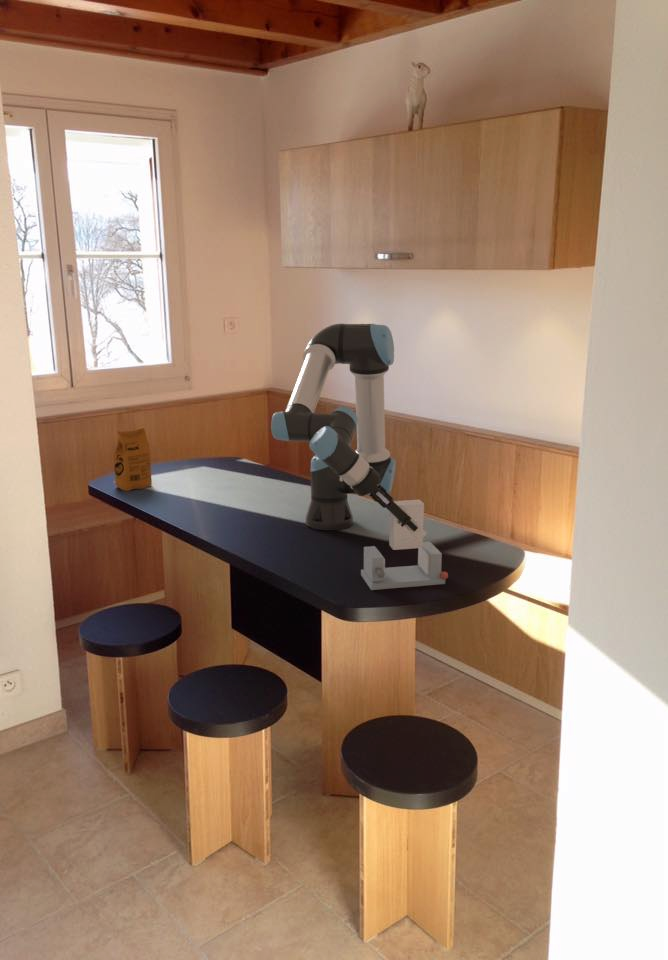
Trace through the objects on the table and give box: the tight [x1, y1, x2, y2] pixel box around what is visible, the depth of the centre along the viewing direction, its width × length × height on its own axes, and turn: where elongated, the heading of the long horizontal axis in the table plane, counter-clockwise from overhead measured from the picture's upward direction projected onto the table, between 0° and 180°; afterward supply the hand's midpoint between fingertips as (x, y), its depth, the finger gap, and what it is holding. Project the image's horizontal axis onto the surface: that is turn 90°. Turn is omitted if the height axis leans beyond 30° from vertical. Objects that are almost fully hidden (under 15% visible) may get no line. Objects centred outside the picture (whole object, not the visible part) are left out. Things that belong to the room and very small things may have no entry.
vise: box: [360, 540, 449, 591], centre depth 226 cm, size 12×21×8 cm, turn 102°
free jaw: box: [363, 545, 386, 582], centre depth 223 cm, size 13×4×6 cm, turn 12°
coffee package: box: [113, 426, 153, 492], centre depth 316 cm, size 10×12×22 cm
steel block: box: [388, 499, 425, 551], centre depth 223 cm, size 4×8×12 cm, turn 102°
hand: (420, 533), depth 225 cm, fingers closed on steel block, 4 cm apart
